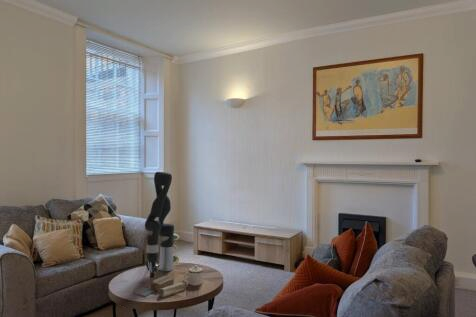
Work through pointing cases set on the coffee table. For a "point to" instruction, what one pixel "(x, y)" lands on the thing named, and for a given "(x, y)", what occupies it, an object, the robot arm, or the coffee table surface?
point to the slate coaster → (144, 292)
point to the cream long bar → (172, 289)
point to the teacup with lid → (195, 276)
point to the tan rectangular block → (161, 283)
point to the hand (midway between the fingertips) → (152, 277)
